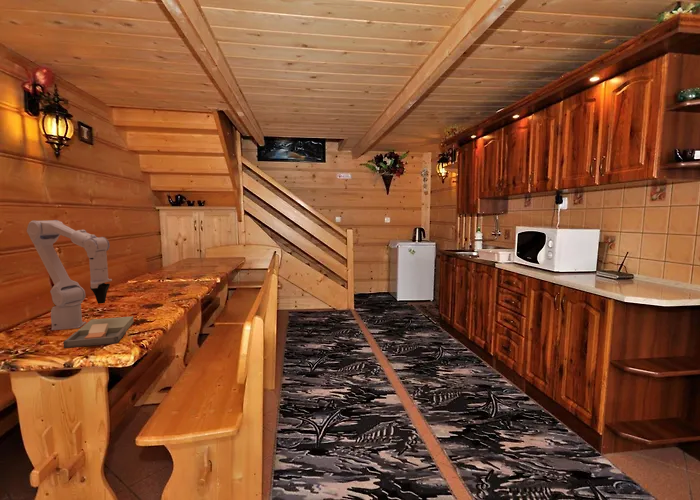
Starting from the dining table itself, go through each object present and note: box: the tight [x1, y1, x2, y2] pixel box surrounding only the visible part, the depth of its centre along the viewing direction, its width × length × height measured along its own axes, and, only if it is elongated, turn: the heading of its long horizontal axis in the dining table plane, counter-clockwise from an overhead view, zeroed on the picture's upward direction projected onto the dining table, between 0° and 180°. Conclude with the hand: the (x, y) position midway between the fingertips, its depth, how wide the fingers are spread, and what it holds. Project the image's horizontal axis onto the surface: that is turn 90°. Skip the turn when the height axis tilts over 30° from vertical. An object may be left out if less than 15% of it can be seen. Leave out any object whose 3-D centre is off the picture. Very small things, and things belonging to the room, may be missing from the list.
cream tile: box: [88, 323, 109, 334], centre depth 137 cm, size 5×5×2 cm
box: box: [63, 328, 127, 349], centre depth 135 cm, size 16×11×2 cm
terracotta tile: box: [85, 332, 106, 339], centre depth 133 cm, size 5×5×2 cm
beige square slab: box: [76, 315, 135, 336], centre depth 147 cm, size 15×15×2 cm
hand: (101, 303), depth 146 cm, fingers closed
